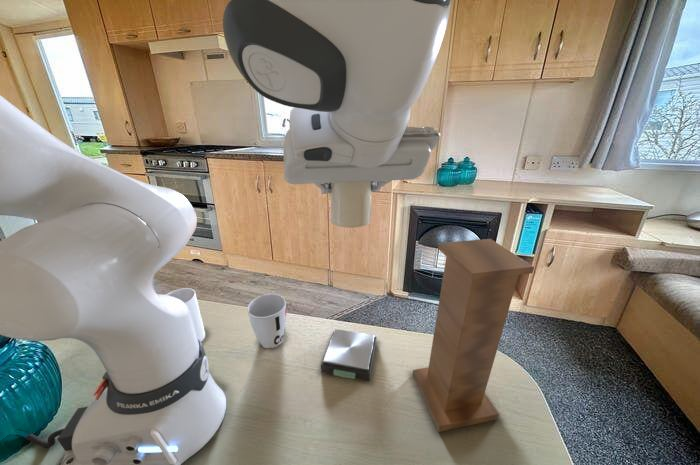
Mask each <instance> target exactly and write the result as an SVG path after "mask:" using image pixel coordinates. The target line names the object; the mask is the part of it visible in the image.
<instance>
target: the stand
mask: <svg viewBox="0 0 700 465" xmlns="http://www.w3.org/2000/svg"><path fill="white" fill-rule="evenodd" d="M437 249H438V250H439V251H440V253H442V254H443V255H444V256H445V262H444V269H443V275H442V281H441V287H440V294H439V299H438V306H437V311H436V318H435V326H434V330H433V337H432V345H431V349H430V356H429V362H428V367H422V368H417V369H413V370H412V377H413V380H414V382H415V384H416V386H417V388H418V390H419V393H420V395H421V397H422V400H423V401H424V403H425V406H426V409H427V411H428V412H429V414H430V417H431V419H432V421H433V423H434V426H435V428H436V430H437V433H440V432H444V431H445V432H446V431H450V430H454V429H458V428H464V427H468V426H473V425H477V424H482V423H487V422H492V421H496V420H498V419H499V415H500V413H499V411H498V410H497V409H496V407H495V405H493V403H492V402H491V400H490V398H489V397H488V396H487V394H486V389H487V386H488V383H489V379H490V377H491V372H492V369H493V365H494V361H495V358H496V356H497V352H498V350H499V349H498V348H499V345H500V342H501V337H502V334H503V331H504V327H505V324H506V320H507V317H508V314H509V310H510V306H511V304H512V299H513V296H514V293H515V289H516V287H517V282H518V279H519V276H520V275H528V274H533V272H534V269H535V266H534V265H532V264H531V263H529V262H528V261H526V260H524V259H523V258H521V257H520V256H518V255H517V254H515V253H513V252H512V251H510V250H509V249H507V248H505V247H504V246H502V245H501V244H499V243H498V242H496V241H495V240H493V239H492V238H484V239H483V238H482V239H472V240H471V239H470V240H461V241H448V242H438V246H437Z"/></svg>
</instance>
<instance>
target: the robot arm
mask: <svg viewBox="0 0 700 465" xmlns="http://www.w3.org/2000/svg"><path fill="white" fill-rule="evenodd" d="M451 5H452V0H229V2H228V3H227V4H226V6H225V8H224V11H223V14H222V30H223V37H224V41H225V44H226V48H227V50H228V53H229V55H230V57H231V60H232V61H233V63H234V65H235V67H236V68H237V70H238V71H239V73H240V75H241V76H242V77H243V79H244V80H245V81H246V82H247V83H248V84H249V85H250V87H251V88H253V90H254V91H255V92H257V93H258V94H259V95H260V96H262V97H264V98H265V99H267V100H270V101H271V102H274V103H276V104H280V105H282V106H286V107H290V108H291V109H290V114H289V128H288V130H287V131H286V132H285V136H284V140H283V142H284V143H283V152H282V153H283V154H282V155H283V175H284V176H283V177H284V181H285V182H287V183H288V184H290V185H310V184H311V185H312V184H314V185H315V186H316V187H317V188H319V189H320V194H321V195H325V194H326V195H327V194H330V191H331V185H330V183H338V182H362V181H372V188H371V192H380V190H381V188H382V187H384V186H385V185H387V184H389V183H391V182H392V181H405V180H406V181H408V180H415V179H418V178H419V177H421V176H422V175H423V174H424V172H425V170H426V168H427V166H428V163H429V162H430V158H431V155H432V151H433V150H434V149H435V148H436V146H437V145H438V144H439V142H440V140H441V133H440V132H439V131H438V130H436V129H435V128H434V127H432V126H423V127H416V126H408V124H409V122H410V119H411V111H412V106H413V105H414V103H415V102H416V101H418V99H419V98H420V96H421V95H422V93H423V91H424V90H425V87H426V85H427V82H428V80H429V79H430V78H429V77H430V76H431V73H432V71H433V68H434V66H435V62H436V60H437V58H438V54H439V53H440V49H441V47H442V44H443V40H444V37H445V34H446V32H447V27H448V23H449V19H450V14H451ZM0 216H6V217H7V216H8V217H16V218H17V217H18V218H24V219H29V220H33V221H38V222H36V223H34V224H30V225H28V226H24V227H23V228H20V229H19V230H16V232H14V233H12V234H10V235H9V236H7V237H5V238H3V239H2V240H0V335H1V336H3V337H6V338H11V339H15V340H20V341H30V342H42V341H44V342H45V341H46V342H47V341H55V340H61V339H74V340H77V341H80V342H83V343H84V344H86V345H87V346H88V347H90V348H91V349H92V350H93V351H94V354H96V356H97V357H98V359H99V361H100V362H101V364H102V366H103V368H104V369H105V373H104V374H103V376H102V380H101V382H100V383H99V384H98V386H97V388H95V391H94V393H93V397H94V398H93V399H92V401H91V402H90V403H89V404H88V406H82V407H78V408H76V411H75V412H74V413H73V415H72V417H71V418H70V420H68V423H67V424H66V425H65V426H64V428H61V429H57V430H55V431H54V432H52V433H50V434H49V436H48V437H47V440H45V439H43V438H40V436H39V437H38V436H37V435H36V434H33V433H31V434H29V435H28V436H27V437H26V438H25V439H24V440H27V441H28V442H31V443H33V444H35V445H37V446H40V447H41V448H51V447H53V446H54V445H55V444H56V440H57V441H58V442H59V444H60V445H61V447H62V448H63V450H64V451H65V454H64V456H63V459H62V461H61V463H60V465H183V463H184V462H186V461H187V460H188V459H189V458H191V457H192V456H194V455H195V454H196V453H197V452H199V451H200V450H201V449H202V448H204V446H206V445H207V443H208V442H209V441H210V440H211V439H212V438H213V437H214V436H215V434H216V433H217V431H218V429H219V428H220V427H221V425H222V423H223V420H224V417H225V415H226V410H227V397H226V394H225V392H224V391H223V390H222V388H221V387H220V386H219V385H218V384H217V383H216V381H215V379H214V378H213V377H212V374H211V372H210V366H209V360H208V357H207V355H206V350H205V348H204V345H203V341H202V342H201V340H200V339H199V338H198V337H197V335H196V332H195V328H194V325H193V321H192V318H191V314H190V311H189V308H188V306H187V305H186V304H185V303H184V302H183V301H181V300H180V299H177V298H175V297H172V296H169V295H166V294H157V293H156V290H155V288H154V278H155V275H156V274H157V272H159V271H160V270H161V269H162V268H163V267H164V266H166V264H168V263H170V261H171V260H173V259H174V258H175V257H176V256H177V255H179V254H180V253H181V252H182V251H183V250H184V249H185V247H186V246H187V244H188V242H189V241H190V240H191V238H192V236H193V234H195V231H196V228H197V224H198V218H197V214H196V210H195V208H194V207H193V205H192V203H191V202H190V201H189V200H188V198H186V197H185V196H184V195H183V194H182V193H180V192H178V191H177V190H174V189H173V188H169V187H165V186H160V185H154V184H150V183H147V182H145V181H141V180H138V179H136V178H134V177H131V176H129V175H127V174H125V173H122V172H120V171H118V170H116V169H114V168H112V167H110V166H108V165H106V164H104V163H102V162H99V161H97V160H96V159H93V158H91V157H90V156H88V155H85V154H83V153H82V152H80V151H78V150H76V149H75V148H73V147H71V146H70V145H68V144H67V143H65V142H64V141H62V140H60V139H59V138H58V137H56V136H54V134H52V133H51V132H49V131H48V130H46V129H45V128H44V127H43V126H41V125H40V124H39V123H37V122H36V121H35V120H34V119H32V118H31V117H29V116H28V115H27V114H26V113H24V112H23V111H22V110H20V109H19V108H17V107H16V106H15V105H13V104H12V103H11V102H10V101H9V100H7V99H6V98H5V97H3V96H2V95H0ZM56 438H57V439H56Z"/></svg>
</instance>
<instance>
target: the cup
mask: <svg viewBox="0 0 700 465" xmlns="http://www.w3.org/2000/svg"><path fill="white" fill-rule="evenodd" d="M246 310H247V314H248V319H249V322H250V325H251V328H252V330H253V333H254V336H255V337H256V339H257V340H258V342H259V344H260V345H261V346H262V347H263V348H265V349H274V348H276V347H278V346H279V345H281V344H282V343H283V342H284V336H285V333H286V328H287V301H286V298H284V296H282V295H280V294H276V293H266V294H261V295H259V296H257V297H254V298H253V299H252V300H251V301H250V302H249V303H248V304H247V308H246Z"/></svg>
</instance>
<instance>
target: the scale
mask: <svg viewBox="0 0 700 465" xmlns="http://www.w3.org/2000/svg"><path fill="white" fill-rule="evenodd" d="M376 346H377V336H375V335H374V334H369V333H364V332H358V331H352V330H345V329H339V328H334V329H333V331H332V334H331V337H330V338H329V341H328V345H327V347H326V349H325V352H324V355H323V358H322V361H321V362H320V373H323V374H324V373H325V374H330V375H333V376H335V377H341V378H346V379H352V380H361V381H365V382H370V381H371V376H372V369H373V363H374V359H375V358H374V357H375V352H376Z"/></svg>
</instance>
